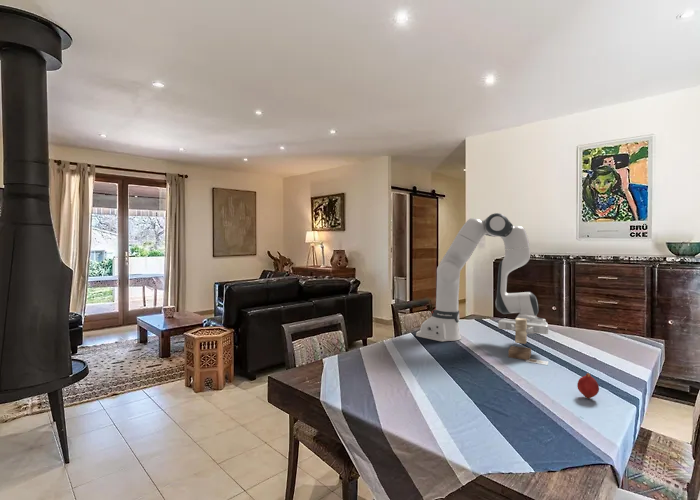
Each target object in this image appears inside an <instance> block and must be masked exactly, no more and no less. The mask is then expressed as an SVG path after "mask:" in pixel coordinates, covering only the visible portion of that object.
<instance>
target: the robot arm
mask: <svg viewBox="0 0 700 500" xmlns="http://www.w3.org/2000/svg"><path fill="white" fill-rule="evenodd" d="M484 236H487V237H494V238H496V237H500V239H502V241H503V243H504V244H503V245H504V251H505V252H504V257H503V259H502V260H500V261H499V264H498V270H497V271H498V273H497V284H496V285H497V290H496V297H495V298H496V299H495V308H496V310H497V311H498V312H499V313H501V314H503V315H507V314H509V315H510V314H518V315H517V316H516V317H515V319H510V318H509V319H508V318H502V319H500V320H498V322H497V323H498V327H497V328H498V329H500V330H507V331H512V332H515V325H516V318H524V319H527V328H526V332H527V335H529V334H540V335H549V324H548V322H547V321H546V318H542V317H538V316H537V315H538V314H539V312H540V311H539V309H540V307H539V306H540V305H539V302H538V298H537V296H536V295H535V294H534V293H533V292H531V291H524V292H523V291H522V292H521V291H520V292H507V285H508V276H509V274H510V273H512V272H513V271H515V270H517V269H518V268H521V267H523V266H525V265H527V263H528V262H529V261H530V258H531V247H530V241H529V238H528V237H529V236H528V233H527V230H526V229H525V228H524V227H523V226H521V225H513V223H512V222H511V221H510V220H509V218H508V217H507V216H506V215H505V214H502V213H500V212H499V213H498V212H497V213H496V212H495V213H491V214H490V215H489V216H487V217H486V218H485V219H483V220H482V219H480V218H476V217H471V218H469V219H467V221H466V222H465V223H464V224H463V225H462V227H461V228H460V229H459V231H458V233H457V234H456V235H455V237H454V239H453V240H452V243H451V244H450V246H449V247H448V249H447V250H446V252H445V254H444V256H443V257H442V259H441V261H440V262H439V264H438V266H437V268H436V292H435V293H436V296H435V297H436V298H435V301H436V303H435V308H434V309H433V310H431V316H430V317H428V318H427V319H425V321H423V322H422V324H420V330H418V331H416V333H415V336H416V337H419V338H423V339H428V340H431V341H432V340H433V341H438V342H450V341H451V342H454V341H460V340H461V339H462V336H461V332H460V326H459V322H460V310H459V299H460V298H459V296H460V295H459V293H460V283H461V282H460V277H461V271H462V269H463V268H464V267H465V265H466V264H467V262H468V261H469V260H470V258H471V256H472V254H473V253H474V251H475V250H476V248H477V247H478V245H479V243H480V241H481V239H482V238H483V237H484Z"/></svg>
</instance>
